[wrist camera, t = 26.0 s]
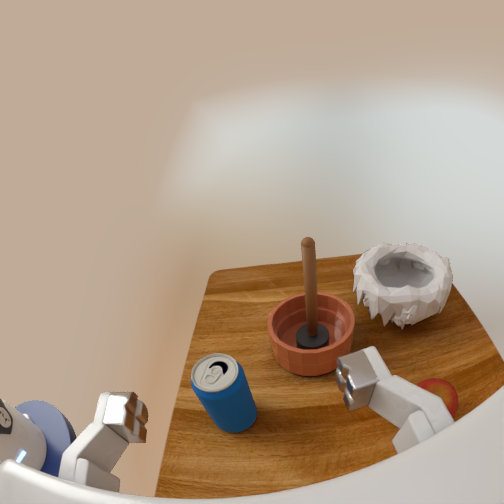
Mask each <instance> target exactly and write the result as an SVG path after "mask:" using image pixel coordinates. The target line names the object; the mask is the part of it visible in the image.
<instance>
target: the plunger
mask: <svg viewBox="0 0 504 504" xmlns="http://www.w3.org/2000/svg"><path fill="white" fill-rule="evenodd" d="M301 249H302V261H303V274H304V288H305V303H306V321H307V324H305V325H303V326H301V327H300V328H299V329H298V330H297V332H296V344H297V348H299V349H303V350H308V349H320V348H323V347H327V346H329V331H328V329H327V328H326V327H325V326H324V325H322V324H319V323H318V303H317V274H316V255H315V242H314V240H313V239H312V238H310V237H306V238H304V239H303V240H302V242H301Z"/></svg>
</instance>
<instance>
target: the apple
mask: <svg viewBox="0 0 504 504" xmlns="http://www.w3.org/2000/svg"><path fill="white" fill-rule="evenodd" d="M416 386H418V387H420V388H422V389H424V390H426V391H428V392H430V393H432V394H434V395H437V396H439V397H441V399H442V401H443V402H444V404H445V406H446V407H447V409H448V411H449V413H450V414H451V416H452V418H454V416H455V413H456V411H457V408H458V395H457V393H456V391H455V388H454V387H453V386H452V385H451V384H450V383H449V382H447V381H445V380H442V379H437V378H431V379H427V380H424V381H421V382H420V383H418V384H417V385H416Z"/></svg>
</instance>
